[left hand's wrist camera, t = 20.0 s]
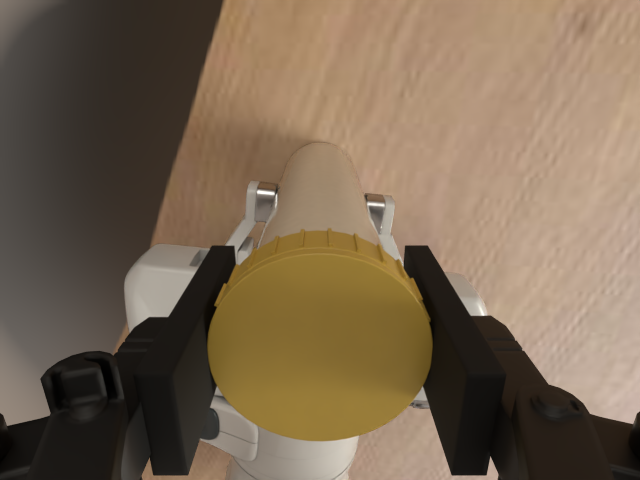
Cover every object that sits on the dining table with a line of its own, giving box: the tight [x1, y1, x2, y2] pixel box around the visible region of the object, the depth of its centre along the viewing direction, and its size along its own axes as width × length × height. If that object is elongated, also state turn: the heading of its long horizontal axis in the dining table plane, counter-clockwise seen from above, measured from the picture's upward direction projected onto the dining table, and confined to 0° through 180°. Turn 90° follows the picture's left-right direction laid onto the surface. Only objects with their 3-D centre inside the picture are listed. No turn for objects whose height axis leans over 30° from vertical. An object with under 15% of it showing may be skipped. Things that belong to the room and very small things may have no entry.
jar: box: [257, 142, 384, 250], centre depth 20 cm, size 5×5×18 cm
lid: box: [207, 228, 433, 441], centre depth 12 cm, size 6×6×2 cm
